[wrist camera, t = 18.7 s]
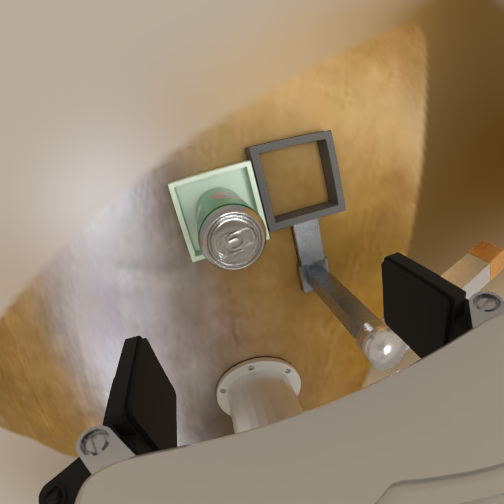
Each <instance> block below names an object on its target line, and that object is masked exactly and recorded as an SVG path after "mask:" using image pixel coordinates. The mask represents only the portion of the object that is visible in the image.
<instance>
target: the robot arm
mask: <svg viewBox="0 0 504 504" xmlns="http://www.w3.org/2000/svg"><path fill="white" fill-rule="evenodd" d="M382 282H383V304H384V321H385V323H386V325H387V326H388V327H389V328H390V329H391V330H392V331H393V332H394V333H395V334H396V335H397V336H399V337H400V338H401V339H402V340H403V341H404V342H405V343H406V344H407V345H408V346H409V347H410V348H411V349H412V350H413V351H414V352H415V353H416V354H417V355H418V356H419V357H420V358H421V359H420V360H418V361H416V362H414V363H413V364H411V365H409V366H407V367H405V368H403V369H401V370H399V371H397V372H395V373H393V374H391V375H389V376H387V377H385V378H383V379H381V380H379V381H377V382H375V383H373V384H370V385H368V386H366V387H364V388H362V389H359V390H357V391H355V392H353V393H350V394H348V395H346V396H343V397H341V398H338V399H336V400H333V401H331V402H329V403H326V404H323V405H321V406H318V407H316V408H313V409H310V410H308V411H305V412H303V409H302V407H301V405H300V403H299V400H298V398H297V396H298V394H299V392H300V388H301V379H300V377H299V374H298V372H297V371H296V369H295V368H294V367H293V366H292V365H291V364H290V363H288V362H286V361H284V360H281V359H278V358H272V357H262V358H254V359H251V360H247V361H244V362H242V363H239V364H237V365H236V366H234V367H232V368H231V369H230V370H229V371H227V372H226V373H225V374H224V375H223V377H222V378H221V379H220V381H219V383H218V385H217V389H216V396H217V401H218V404H219V406H220V408H221V409H222V410H223V411H224V412H225V413H227V414H228V415H230V416H231V418H232V423H233V428H234V433H235V434H231V435H227V436H224V437H219V438H215V439H211V440H207V441H203V442H198V443H193V444H189V445H184V446H179V447H177V421H176V393H175V390H174V388H173V386H172V384H171V383H170V381H169V379H168V377H167V376H166V374H165V372H164V370H163V368H162V367H161V365H160V363H159V361H158V359H157V357H156V355H155V353H154V351H153V350H152V348H151V346H150V344H149V342H148V340H147V339H146V338H144V339H142V337H141V336H136V337H132V338H129V339H126V340H125V342H124V345H123V349H122V353H121V356H120V360H119V364H118V367H117V371H116V375H115V377H114V379H113V383H112V387H111V391H110V395H109V399H108V403H107V408H106V412H105V417H104V421H103V425H98V426H94V427H91V428H89V429H87V430H86V431H85V432H83V433H82V434H81V436H80V437H79V439H78V441H77V444H76V451H77V453H78V455H79V458H78V459H76V460H75V461H74V462H73V463H72V464H70V465H69V466H68V467H67V468H65V469H64V470H63V471H62V472H61V473H59V474H58V475H57V476H56V477H54V478H53V479H52V480H51V481H49V482H48V483H47V484H46V485H45V486H44V487H43V488H42V490H41V492H40V495H39V504H504V301H503V299H502V298H501V297H500V296H499V295H497V294H495V293H492V292H486V291H484V292H478V293H475V294H473V295H472V296H471V297H470V299H469V300H468V299H466V291H464V290H463V289H461V288H459V287H458V286H456V285H454V284H453V283H451V282H449V281H448V280H446V279H444V278H443V277H441V276H439V275H437V274H436V273H434V272H432V271H431V270H429V269H427V268H425V267H423V266H422V265H420V264H418V263H416V262H415V261H413V260H411V259H409V258H408V257H406V256H404V255H402V254H400V253H395V254H392V255H389V256H387V257H385V259H384V262H382Z"/></svg>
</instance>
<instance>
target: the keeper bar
mask: <svg viewBox="0 0 504 504" xmlns="http://www.w3.org/2000/svg"><path fill="white" fill-rule="evenodd" d="M503 268H504V250H503V249H501V248H499V247H497V246H494V245H492V244H490V243H488V242H485V241H483V240H482V241H480V242H479V243H478V244H477V245H476V246H474V247H473V248H472V249H471V250H470V251H469V253H468V254H467V255H465V256H464V257H463V258H462V259H461V260H460V261H458V262H457V263H456V264H455V265H453V266H452V267H451V268H450V269H448V270H447V271H446V272H445V273H443V274H442V275H441V277H443V278H444V279H446V280H448V281H449V282H451V283H453V284H454V285H456V286H458V287H459V288H461V289H463V290H464V291H466V299H468V300H469V299H470V297H471V296H472V295H473V294H475V293H477V292H478V291H480V289H482V288H483V287H484V286H485V285H486V284H487V283H488V282H489V281H491V280H492V279H493V278H494V277H495V276H496V275H497V274H498V273H499V272H500V271H501V270H502V269H503ZM356 345H357V346H358V348H359V349H360V350H361V351H362V353H363V354H364V355H365V356H366V357H367V359H368V360H369V361H370V362H371V364H372V365H373V366H374V367H375V369H377V370H379V371H384V370H388V369H390V368H392V367H393V366H395V365H396V364H397V363H398V362H399V361H400V360H401V359H402V357H403V355H404V354H405V351H406V350H407V349H409V348H410V347H409V346H408V345H407V344H406V343H405V342H404V341H403V340H402V339H401V338H400V337H399V336H397V335H396V334H395V333H394V332H393V331H392V330H391V329H390V328H389V327H388V326H387V325H386V323H385V321H384V317H383V318H381V319H379V318H376V319H372V320H370V321H368V322H366V323H365V324H364V325H363V326H362V327H361V328H360V330H359V331H358V333H357V335H356Z"/></svg>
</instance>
